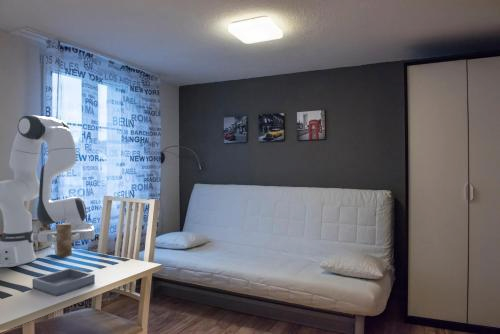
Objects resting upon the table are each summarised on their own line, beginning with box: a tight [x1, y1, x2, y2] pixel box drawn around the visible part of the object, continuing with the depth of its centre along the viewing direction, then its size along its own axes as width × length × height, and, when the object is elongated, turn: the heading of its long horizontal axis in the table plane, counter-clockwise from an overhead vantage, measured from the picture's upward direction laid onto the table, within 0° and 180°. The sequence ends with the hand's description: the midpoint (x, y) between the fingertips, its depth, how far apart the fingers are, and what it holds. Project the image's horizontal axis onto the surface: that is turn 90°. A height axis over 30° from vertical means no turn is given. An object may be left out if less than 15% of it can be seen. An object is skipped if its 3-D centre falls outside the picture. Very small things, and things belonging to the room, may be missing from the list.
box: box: [31, 267, 96, 297], centre depth 135 cm, size 15×15×4 cm
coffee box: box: [32, 217, 52, 251], centre depth 189 cm, size 9×6×16 cm
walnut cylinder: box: [56, 222, 73, 258], centre depth 135 cm, size 5×5×12 cm
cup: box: [49, 242, 57, 256], centre depth 177 cm, size 11×8×8 cm
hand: (63, 239), depth 134 cm, fingers closed on walnut cylinder, 5 cm apart
